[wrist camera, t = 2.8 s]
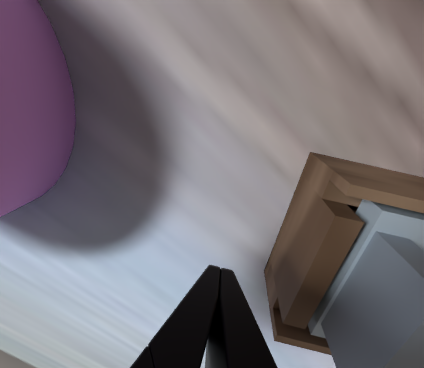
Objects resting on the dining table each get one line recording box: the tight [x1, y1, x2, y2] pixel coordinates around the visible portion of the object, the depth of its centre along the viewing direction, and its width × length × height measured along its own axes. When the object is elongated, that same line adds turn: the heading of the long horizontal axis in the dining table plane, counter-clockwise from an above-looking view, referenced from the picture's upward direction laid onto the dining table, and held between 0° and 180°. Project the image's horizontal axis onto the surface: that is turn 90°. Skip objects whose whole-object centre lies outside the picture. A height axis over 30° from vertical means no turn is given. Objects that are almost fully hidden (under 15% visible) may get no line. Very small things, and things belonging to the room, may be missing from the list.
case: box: [264, 152, 424, 355], centre depth 10 cm, size 12×8×4 cm, turn 79°
